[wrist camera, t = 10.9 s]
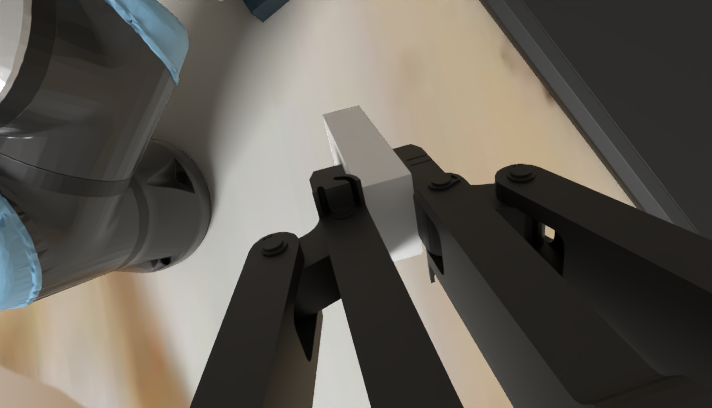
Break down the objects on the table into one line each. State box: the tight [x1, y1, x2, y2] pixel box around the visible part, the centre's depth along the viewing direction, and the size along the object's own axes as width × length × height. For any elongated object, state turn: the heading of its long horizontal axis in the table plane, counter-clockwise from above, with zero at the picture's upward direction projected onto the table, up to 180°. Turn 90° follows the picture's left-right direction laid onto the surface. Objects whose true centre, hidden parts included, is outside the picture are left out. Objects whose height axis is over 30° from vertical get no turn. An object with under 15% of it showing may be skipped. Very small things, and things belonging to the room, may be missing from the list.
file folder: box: [479, 0, 712, 240], centre depth 38 cm, size 33×4×24 cm
